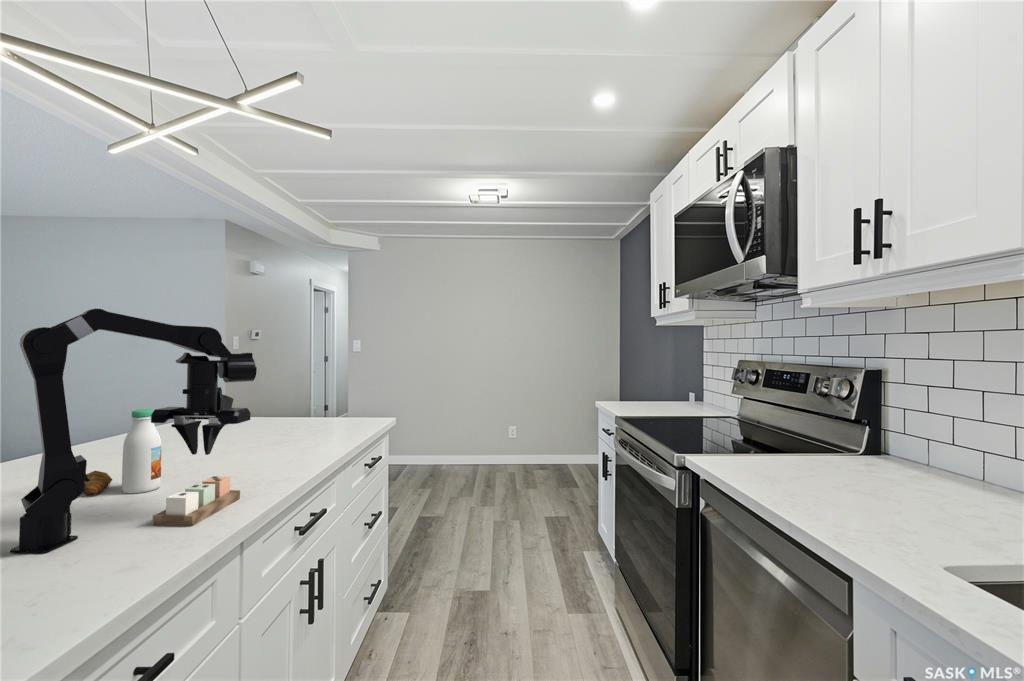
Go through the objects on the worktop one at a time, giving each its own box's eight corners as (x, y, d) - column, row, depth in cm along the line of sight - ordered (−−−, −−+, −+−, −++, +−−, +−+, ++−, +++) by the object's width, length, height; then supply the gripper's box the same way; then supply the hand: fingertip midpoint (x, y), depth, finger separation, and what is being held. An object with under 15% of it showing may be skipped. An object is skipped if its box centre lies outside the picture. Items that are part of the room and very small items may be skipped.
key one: (185, 517, 97) (185, 497, 97) (165, 517, 97) (166, 496, 97) (198, 510, 101) (198, 490, 101) (179, 510, 101) (179, 490, 101)
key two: (203, 507, 103) (203, 488, 103) (184, 507, 103) (185, 488, 103) (214, 501, 107) (215, 483, 107) (196, 501, 107) (197, 482, 107)
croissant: (79, 486, 121) (80, 466, 121) (114, 481, 125) (114, 462, 126) (72, 500, 111) (72, 479, 111) (110, 495, 115) (110, 474, 115)
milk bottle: (139, 495, 114) (141, 412, 115) (113, 493, 116) (115, 411, 116) (168, 486, 122) (170, 408, 122) (143, 483, 124) (145, 407, 124)
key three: (219, 499, 108) (219, 480, 108) (201, 499, 108) (202, 480, 108) (229, 493, 112) (230, 476, 112) (212, 493, 112) (213, 475, 112)
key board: (192, 526, 96) (192, 516, 96) (152, 525, 96) (153, 515, 96) (240, 498, 113) (240, 490, 113) (206, 498, 113) (206, 489, 113)
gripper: (263, 381, 113) (262, 447, 113) (185, 380, 113) (183, 445, 113) (236, 385, 102) (235, 458, 102) (149, 384, 102) (148, 457, 102)
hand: (201, 454), depth 105 cm, fingers open, 3 cm apart
